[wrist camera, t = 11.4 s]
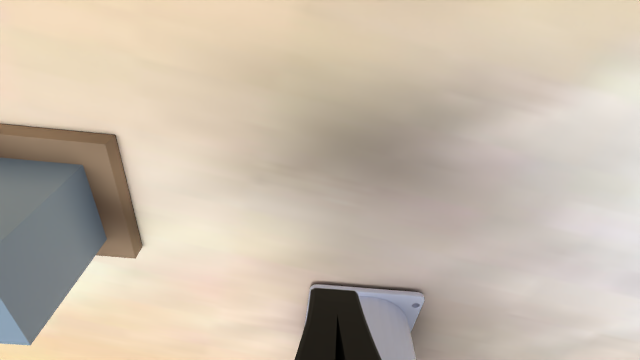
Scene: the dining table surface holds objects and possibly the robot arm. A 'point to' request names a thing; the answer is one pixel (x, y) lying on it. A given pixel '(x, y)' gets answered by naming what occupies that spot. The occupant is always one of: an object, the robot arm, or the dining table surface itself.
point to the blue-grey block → (42, 241)
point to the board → (100, 170)
